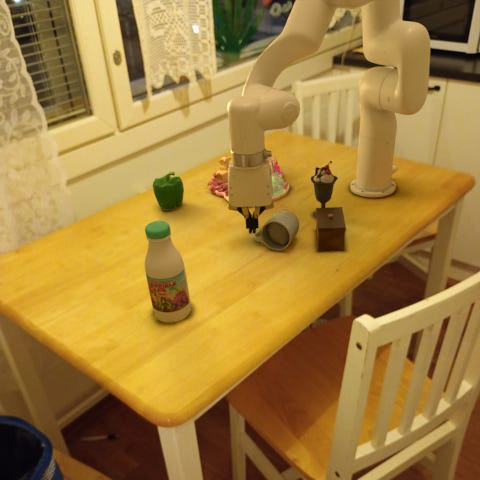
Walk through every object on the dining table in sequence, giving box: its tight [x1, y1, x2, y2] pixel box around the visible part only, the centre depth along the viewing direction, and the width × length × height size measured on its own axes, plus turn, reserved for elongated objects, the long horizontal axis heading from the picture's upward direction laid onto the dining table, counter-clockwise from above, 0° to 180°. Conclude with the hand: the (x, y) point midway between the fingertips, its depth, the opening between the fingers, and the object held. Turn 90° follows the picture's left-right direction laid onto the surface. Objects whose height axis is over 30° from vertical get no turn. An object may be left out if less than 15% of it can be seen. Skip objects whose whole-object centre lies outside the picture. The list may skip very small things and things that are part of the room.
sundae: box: [310, 160, 339, 218], centre depth 134 cm, size 7×7×15 cm
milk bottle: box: [144, 220, 192, 323], centre depth 103 cm, size 8×8×20 cm
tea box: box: [315, 206, 347, 252], centre depth 125 cm, size 6×10×7 cm, turn 176°
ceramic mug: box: [253, 209, 300, 252], centre depth 126 cm, size 11×8×8 cm
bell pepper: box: [152, 171, 185, 211], centre depth 145 cm, size 8×8×10 cm
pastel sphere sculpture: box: [206, 154, 290, 203], centre depth 153 cm, size 25×24×9 cm
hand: (252, 230), depth 127 cm, fingers closed
